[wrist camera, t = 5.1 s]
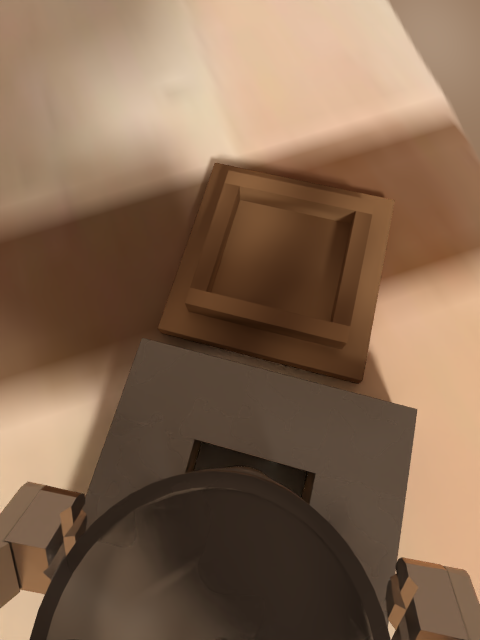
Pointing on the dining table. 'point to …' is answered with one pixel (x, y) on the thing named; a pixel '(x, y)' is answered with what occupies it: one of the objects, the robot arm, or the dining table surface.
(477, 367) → the dining table surface
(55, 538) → the robot arm
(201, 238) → the square wooden tray
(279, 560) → the lidded glass canister
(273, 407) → the socket block
